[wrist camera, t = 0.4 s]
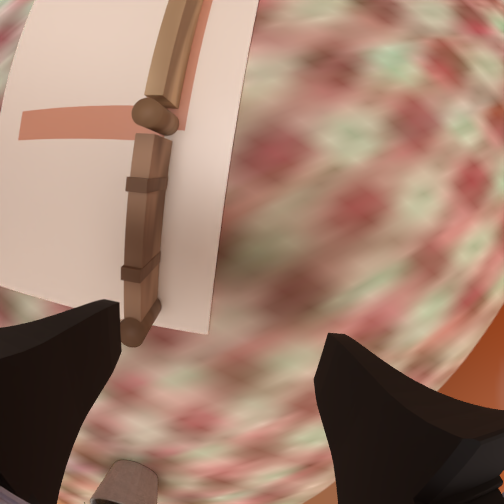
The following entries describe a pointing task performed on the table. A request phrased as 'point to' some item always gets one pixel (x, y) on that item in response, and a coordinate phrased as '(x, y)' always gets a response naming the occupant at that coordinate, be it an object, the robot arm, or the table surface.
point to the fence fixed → (168, 68)
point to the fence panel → (143, 235)
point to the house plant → (127, 485)
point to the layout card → (115, 151)
